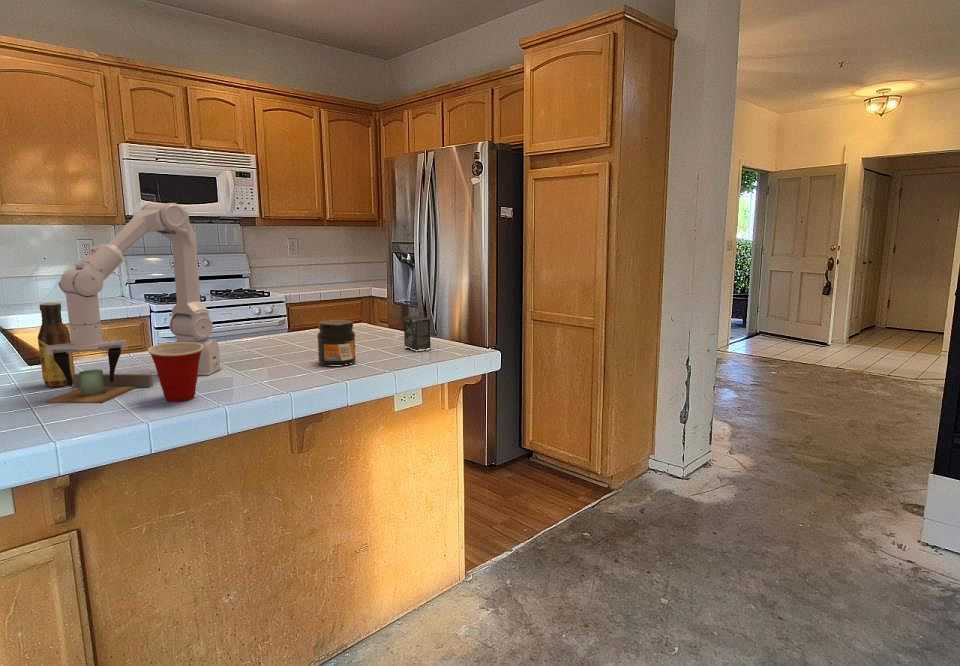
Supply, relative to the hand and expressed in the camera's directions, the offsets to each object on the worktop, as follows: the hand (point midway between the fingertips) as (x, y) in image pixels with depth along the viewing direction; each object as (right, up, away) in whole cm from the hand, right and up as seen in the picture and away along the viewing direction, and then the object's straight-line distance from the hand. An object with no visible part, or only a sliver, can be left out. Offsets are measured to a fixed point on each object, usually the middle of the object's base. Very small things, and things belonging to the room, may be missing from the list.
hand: (91, 383), depth 127 cm
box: (+67, +6, +56) cm, 88 cm away
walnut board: (0, -3, 0) cm, 3 cm away
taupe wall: (0, -2, +8) cm, 8 cm away
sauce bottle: (-14, -1, +9) cm, 17 cm away
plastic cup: (+21, -4, -2) cm, 21 cm away
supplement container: (+47, +2, +35) cm, 58 cm away
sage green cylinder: (0, -2, +1) cm, 2 cm away
